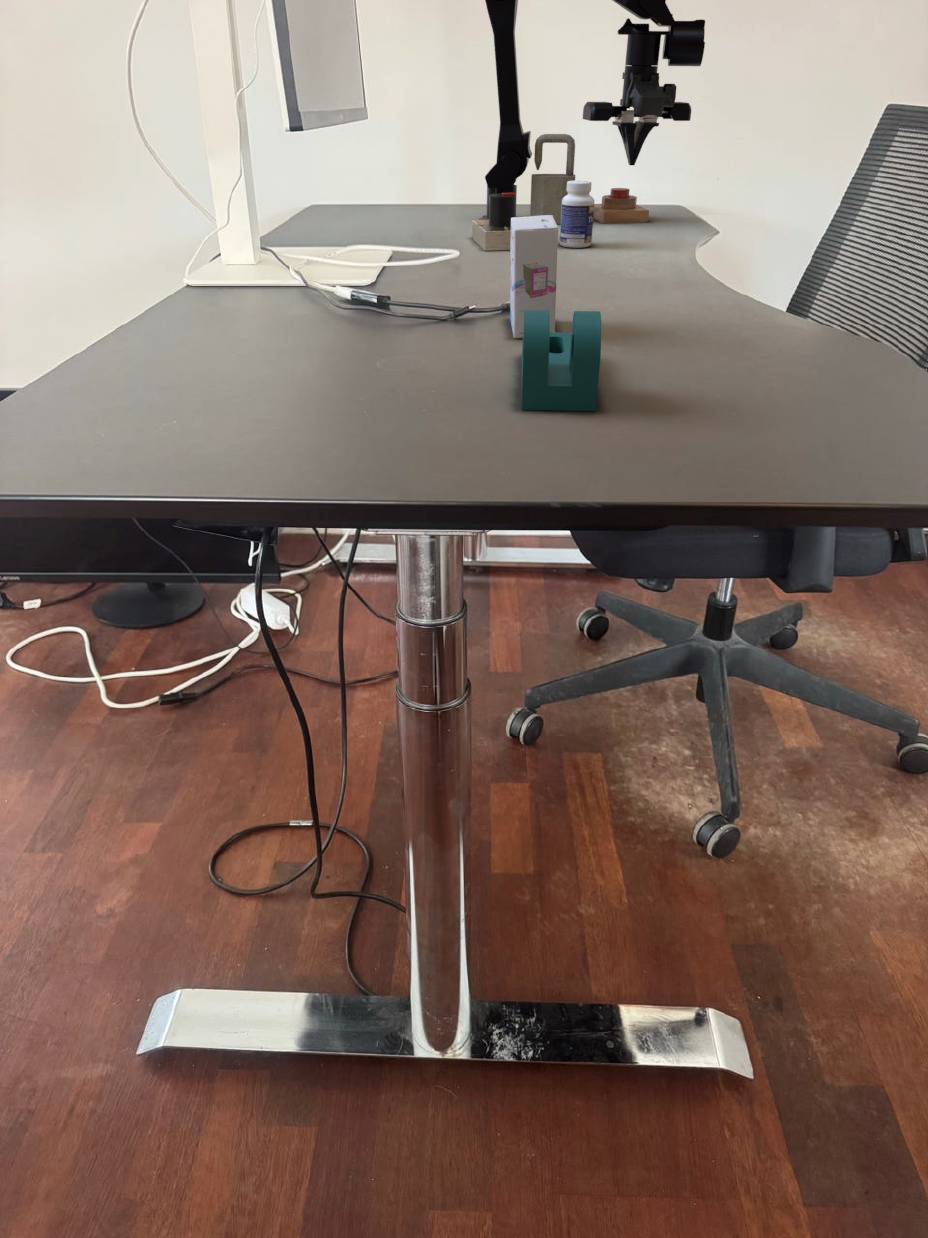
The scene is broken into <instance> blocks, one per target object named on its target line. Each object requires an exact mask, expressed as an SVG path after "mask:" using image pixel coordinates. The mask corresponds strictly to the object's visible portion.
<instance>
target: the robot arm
mask: <svg viewBox="0 0 928 1238" xmlns="http://www.w3.org/2000/svg"><path fill="white" fill-rule="evenodd" d="M611 1H612V2H614V3H615V4H617V5H618V6H619V7H621V8H623V9H624V10H625V11H627V12H629V13H630V14H631V15H633V16H635V17H636V18H638V19H639V20H643V21H647V20H650V21H651V22H653V23H654V24H655V25H656V26H657V27H662V28H663V27H665V28H666V27H668V29H667V30H650V23H633V22H632V20H631V19H630V17H629V18H626V19H625V22H624V23H623V25H622V26H621V27H620V28H618V30H617V35H619V36H627V42H626V54H625V64H624V71H622V77H621V79H622V80H623V85H622V97H621V98H620V100H619V105H613V102H609V101H587V102H586V103H585V104H584V106H583V108H582V109H583V110H582V120H585V121H590V122H608V121H609V120H611V118H614V120H613V121H612V125H613V126H617V129H618V131H619V134H620V136H621V140H622V144H623V147H624V151H625V155H626V159H627V163H628V166H635V165H636V162H637V160H638V158H639V155H640V153H641V150H642V148H643V146H644V143H645V141H646V139H647V138H648V135H649V134H650V133H651V132H652V130H653V129H654V128H655V127H659V126H660V122H658V119H659V118H661V119H663V120H672V121H675V122H689V121H690V122H691V117H692V106H691V104H690V103H689V102H685V101H676V98H677V97H676V96H677V85H676V84H675V83H664V84H663V85H661V86H660V72H658V68H659V59H660V49H661V40H662V36H664V37H663V45H662V54H661V55H662V56H661V57H662V60H667V66H668V67H701V66H702V62H703V58H704V54H705V53H704V52H705V47H706V41H705V32H706V31H705V30H706V29H705V27H706V20H705V19H695V20H675V19H674V14H673V13H672V12H671V11H670V9H669V7H668V5H667V3H666V1H667V0H611ZM484 2H485V5H486V11H487V14H488V18H489V22H490V26H491V30H492V33H493V46H494V58H495V73H496V85H497V86H496V87H497V98H498V112H499V131H498V140H497V149H496V150H497V152H496V163H495V164H494V165H493V166H492V167H491V168H490V170H489V171H488V172H487V173H486V175H485V176H484V180H485V183H486V215H481V216H482V217H481V218H482V220H489V195H491V194H501V193H515V217H518V216H517V193H518V185H517V184H516V182H517V179H518V178H519V177H521V176H523V174H524V173H525V172H526V170H527V168H528V165H529V161H530V159H531V158H532V156H533V152H532V149H531V133H532V131H531V130H528V131H525V132H524V128H523V125H522V121H521V108H520V93H519V76H518V61H517V47H516V46H517V45H516V23H517V15H518V5H519V0H484ZM631 108H633V109H631ZM635 118H638V120H634V119H635Z"/></svg>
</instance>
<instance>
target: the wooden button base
mask: <svg viewBox="0 0 928 1238" xmlns="http://www.w3.org/2000/svg"><path fill="white" fill-rule="evenodd" d="M637 198H638V196H635V195H631V194H629V198H610V194H605V195H603V196H601V203H594V215H593V220H595V221H597V222H599V223H601V224H606V225H607V224H633V223H634V224H636V223H649V217H650V210H649V209H647V208H645V207H643V206H640V205H638V204H637V203H638V201H637V200H638V199H637Z"/></svg>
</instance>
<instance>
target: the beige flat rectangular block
mask: <svg viewBox="0 0 928 1238" xmlns="http://www.w3.org/2000/svg"><path fill="white" fill-rule="evenodd" d="M471 223H472V224H471V225H472V226H471V232H472V233H471V239H472V240H473V241H475V242H476V243H477V245H478V246H479V247H481V249H483V250H484V251H485V252H494V251H495V252H496V251H497V252H498V251H510V243H511V226H504V227H500V226H491V225H489V220H484V219H472V220H471Z"/></svg>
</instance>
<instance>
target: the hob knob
mask: <svg viewBox="0 0 928 1238" xmlns="http://www.w3.org/2000/svg"><path fill="white" fill-rule="evenodd" d="M513 217H515V193H501V194H491V195H489V225H491V226H500V227H504V226H511V218H513Z"/></svg>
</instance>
